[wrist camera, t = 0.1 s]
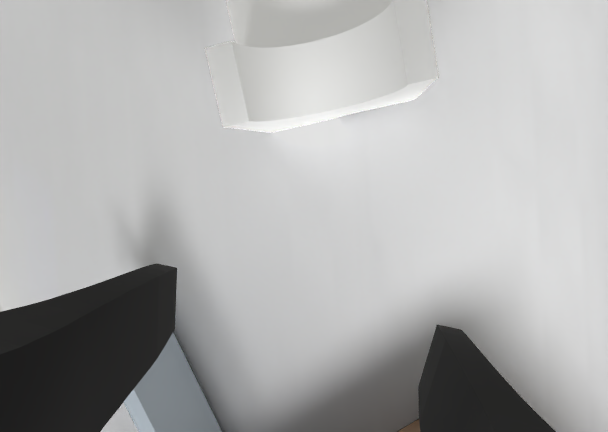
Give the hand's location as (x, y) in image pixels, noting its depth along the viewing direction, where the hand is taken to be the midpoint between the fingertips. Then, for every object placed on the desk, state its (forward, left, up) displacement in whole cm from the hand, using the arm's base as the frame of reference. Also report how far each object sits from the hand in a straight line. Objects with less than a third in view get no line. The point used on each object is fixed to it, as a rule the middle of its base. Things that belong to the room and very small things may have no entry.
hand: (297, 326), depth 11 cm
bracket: (+7, +10, -11) cm, 17 cm away
